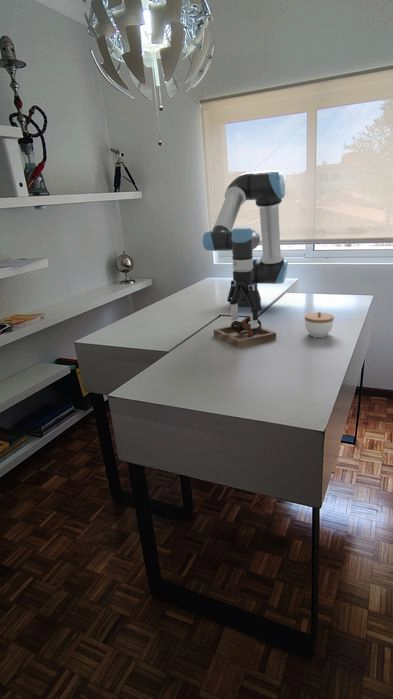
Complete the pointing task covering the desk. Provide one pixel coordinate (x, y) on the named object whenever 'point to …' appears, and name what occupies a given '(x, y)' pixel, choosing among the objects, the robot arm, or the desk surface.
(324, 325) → the lidded jar
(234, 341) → the walnut tray
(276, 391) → the desk surface
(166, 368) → the desk surface
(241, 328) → the broken clay pot
